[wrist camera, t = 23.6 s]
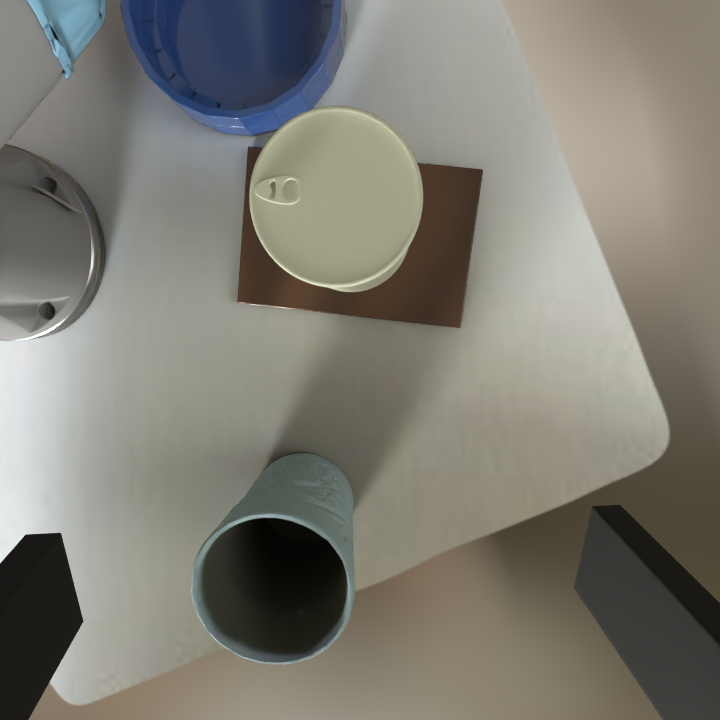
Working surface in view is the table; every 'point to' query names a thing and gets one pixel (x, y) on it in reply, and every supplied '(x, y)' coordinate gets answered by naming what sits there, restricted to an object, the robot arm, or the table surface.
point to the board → (410, 281)
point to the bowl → (239, 56)
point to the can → (337, 198)
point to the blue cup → (280, 564)
